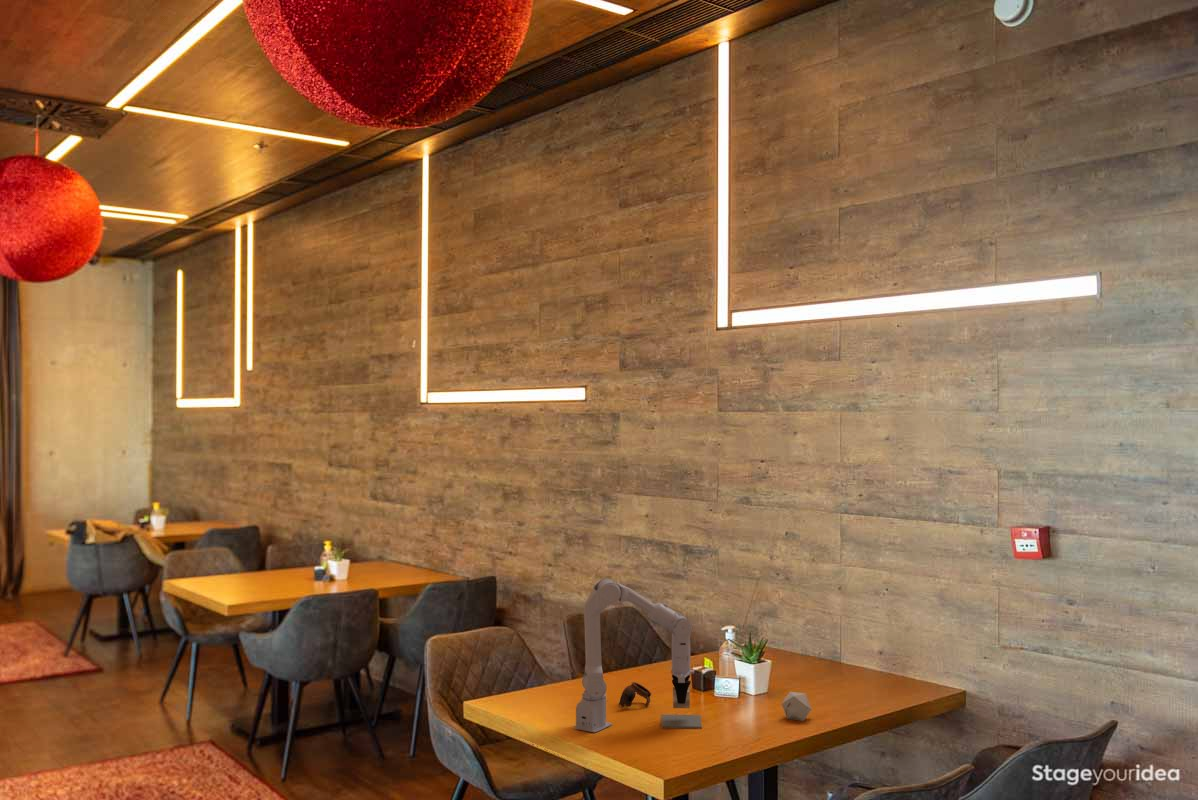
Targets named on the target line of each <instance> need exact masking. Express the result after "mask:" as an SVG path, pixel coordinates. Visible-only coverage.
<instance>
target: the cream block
mask: <svg viewBox="0 0 1198 800" xmlns="http://www.w3.org/2000/svg"><path fill="white" fill-rule="evenodd" d="M690 692H691V691H690V686H689V687H688V690H687V695H686V701H685V704H678V701H677V696H676V691H675V687H674V686H673V687H672V709H690V707H691V693H690Z"/></svg>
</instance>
